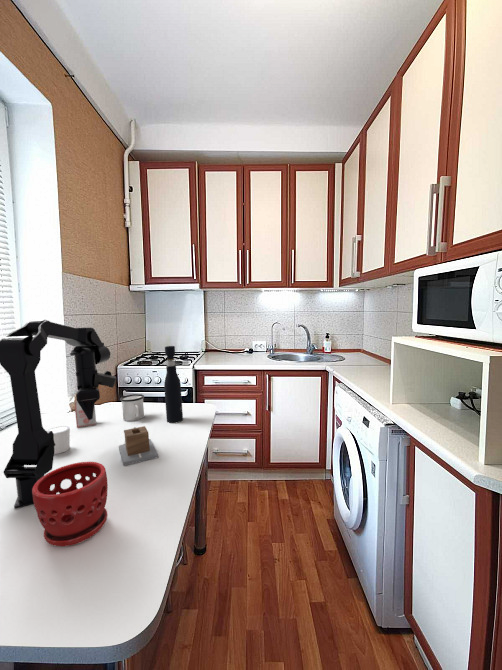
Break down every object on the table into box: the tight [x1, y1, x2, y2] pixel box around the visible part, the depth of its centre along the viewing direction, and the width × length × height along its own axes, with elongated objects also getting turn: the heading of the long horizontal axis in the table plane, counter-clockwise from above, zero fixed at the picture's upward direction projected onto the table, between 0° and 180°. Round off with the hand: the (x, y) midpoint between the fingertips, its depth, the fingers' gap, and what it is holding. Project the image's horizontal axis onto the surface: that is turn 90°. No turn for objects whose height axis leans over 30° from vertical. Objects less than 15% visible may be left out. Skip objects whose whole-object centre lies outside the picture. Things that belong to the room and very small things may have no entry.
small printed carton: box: [74, 401, 97, 428], centre depth 134 cm, size 4×7×10 cm, turn 112°
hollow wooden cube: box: [124, 425, 150, 456], centre depth 104 cm, size 6×6×6 cm
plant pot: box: [32, 461, 109, 548], centre depth 67 cm, size 13×13×12 cm
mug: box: [119, 393, 145, 422], centre depth 138 cm, size 12×9×9 cm
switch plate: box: [118, 438, 159, 466], centre depth 104 cm, size 14×10×6 cm
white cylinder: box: [47, 425, 71, 455], centre depth 110 cm, size 7×7×7 cm
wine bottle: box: [163, 345, 184, 424], centre depth 132 cm, size 6×6×30 cm
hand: (90, 415), depth 106 cm, fingers open, 9 cm apart
